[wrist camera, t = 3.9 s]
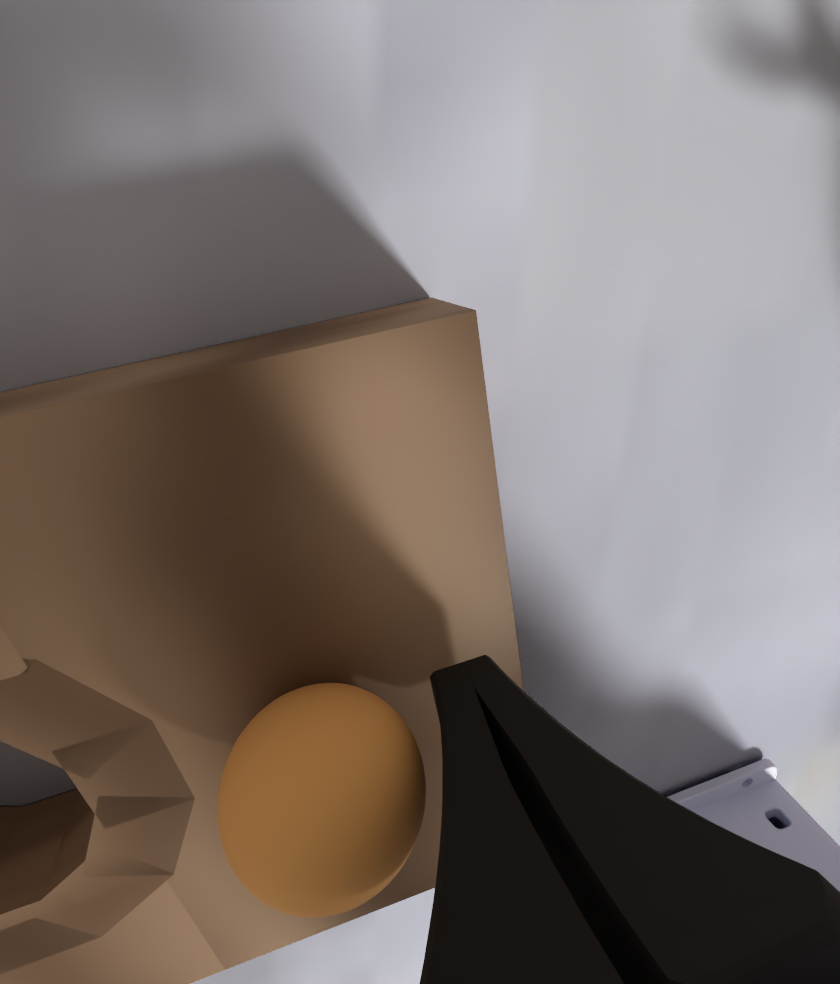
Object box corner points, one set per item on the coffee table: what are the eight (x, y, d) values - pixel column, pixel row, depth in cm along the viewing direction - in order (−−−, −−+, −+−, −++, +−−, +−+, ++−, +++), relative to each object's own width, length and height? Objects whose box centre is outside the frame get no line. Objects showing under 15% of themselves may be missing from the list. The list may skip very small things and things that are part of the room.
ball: (383, 620, 12) (431, 774, 9) (415, 744, 14) (466, 915, 10) (197, 677, 11) (167, 868, 8) (255, 799, 13) (252, 1002, 10)
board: (431, 297, 13) (475, 310, 10) (505, 764, 20) (542, 845, 17) (-526, 508, 10) (-820, 603, 7) (-42, 962, 17) (-100, 1096, 14)
